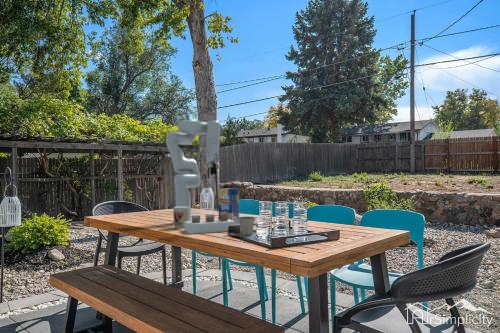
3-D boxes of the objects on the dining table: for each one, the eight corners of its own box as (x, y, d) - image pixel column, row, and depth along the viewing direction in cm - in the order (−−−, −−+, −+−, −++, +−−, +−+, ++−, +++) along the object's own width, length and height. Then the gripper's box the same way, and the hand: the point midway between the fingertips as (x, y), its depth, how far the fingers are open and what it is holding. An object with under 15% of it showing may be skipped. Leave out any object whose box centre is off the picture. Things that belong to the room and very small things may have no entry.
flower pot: (258, 233, 204) (258, 216, 204) (252, 236, 195) (252, 219, 196) (241, 232, 208) (241, 216, 208) (235, 235, 199) (235, 218, 199)
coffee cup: (169, 227, 226) (169, 207, 226) (179, 225, 234) (179, 206, 234) (182, 229, 221) (182, 208, 221) (192, 226, 230) (192, 206, 230)
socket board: (184, 230, 215) (184, 221, 215) (228, 227, 225) (228, 219, 225) (189, 233, 204) (189, 224, 204) (235, 230, 214) (235, 221, 214)
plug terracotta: (219, 226, 219) (219, 212, 219) (226, 226, 220) (225, 212, 220) (221, 227, 215) (221, 213, 215) (228, 227, 217) (228, 212, 217)
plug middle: (205, 229, 216) (205, 214, 216) (212, 228, 217) (212, 214, 217) (207, 230, 212) (207, 215, 212) (214, 229, 214) (214, 215, 214)
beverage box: (226, 222, 246) (225, 188, 246) (239, 224, 239) (238, 188, 239) (218, 224, 241) (218, 188, 241) (231, 225, 234) (231, 189, 234)
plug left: (191, 230, 213) (191, 215, 213) (198, 229, 214) (198, 215, 214) (193, 231, 209) (193, 216, 209) (200, 230, 211) (200, 215, 211)
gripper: (203, 143, 228) (203, 174, 228) (210, 141, 214) (210, 174, 214) (215, 143, 231) (215, 174, 230) (223, 141, 217) (223, 174, 217)
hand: (213, 174), depth 222 cm, fingers closed
